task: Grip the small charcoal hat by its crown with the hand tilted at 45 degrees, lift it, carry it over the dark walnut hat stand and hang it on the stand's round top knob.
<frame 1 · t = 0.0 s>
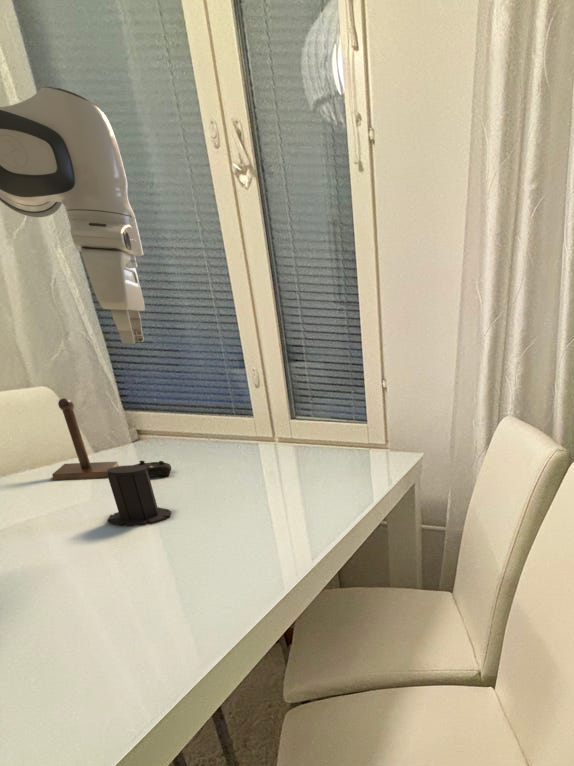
hand: (133, 343, 90), 29 cm above the table, tool pointing down, fingers open, 8 cm apart
hat stand: (88, 474, 129), on the table
hat: (140, 518, 102), on the table
gaming controller: (152, 477, 128), on the table
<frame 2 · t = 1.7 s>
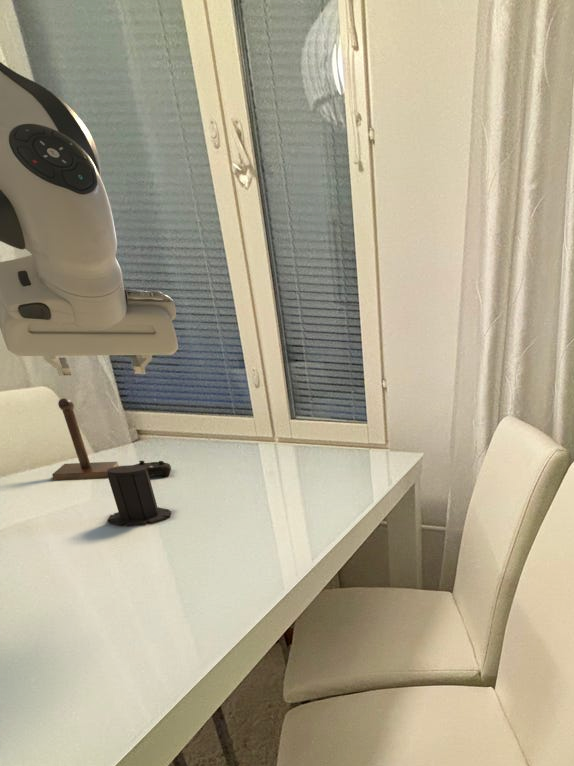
hand: (102, 371, 80), 25 cm above the table, tool tilted 45°, fingers open, 8 cm apart
nothing on the table moved.
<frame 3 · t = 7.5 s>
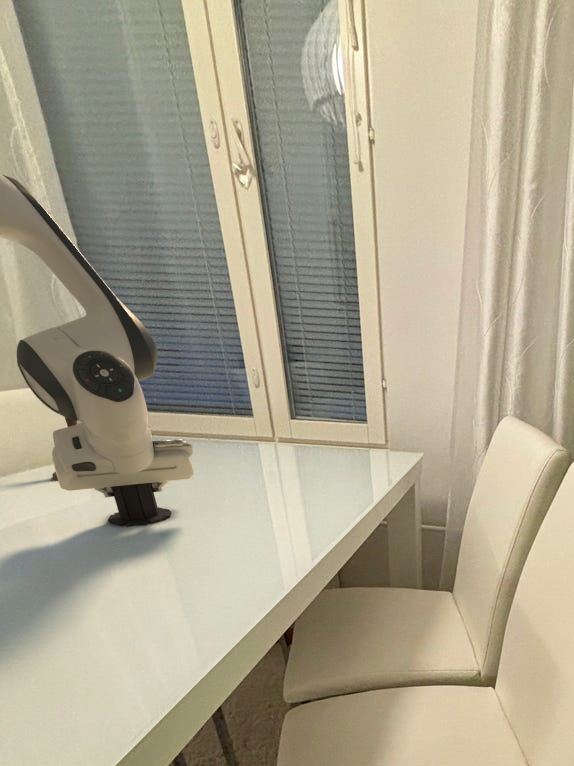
hand: (132, 491, 100), 5 cm above the table, tool tilted 45°, fingers closed on hat, 6 cm apart
hat: (141, 518, 102), on the table, touching gripper
everything else where it was.
when the fingers open (13 cm above the table, at t = 21.1 s): hat stays where it is, resting on hat stand.
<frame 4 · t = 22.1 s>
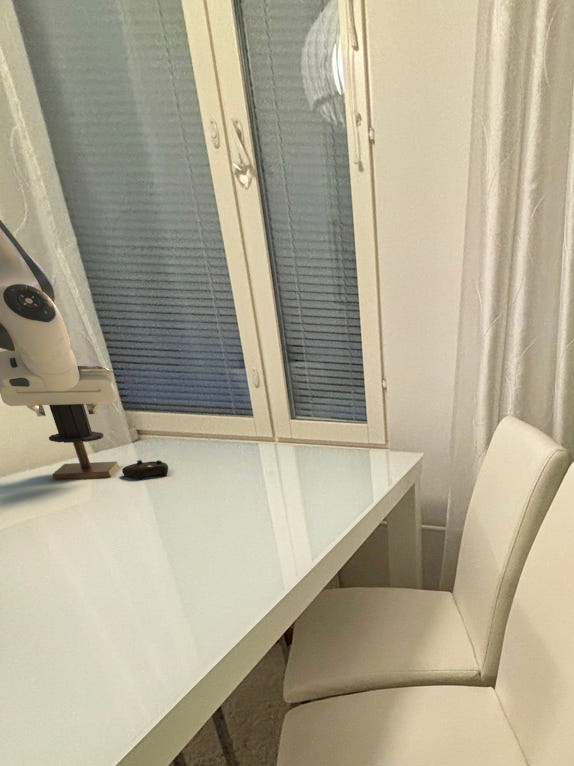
hand: (67, 412, 121), 13 cm above the table, tool tilted 45°, fingers open, 8 cm apart
hat: (77, 438, 125), point 8 cm above the table, touching hat stand
everything else where it was.
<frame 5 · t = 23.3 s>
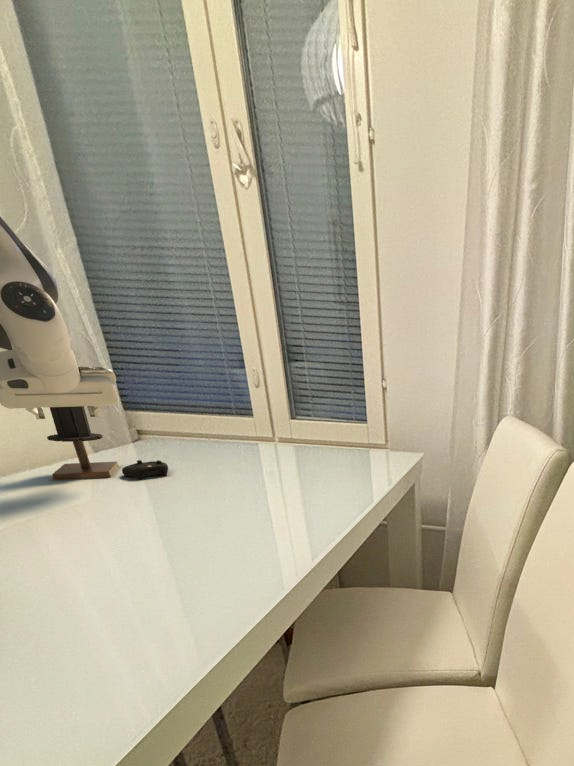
hand: (67, 415, 117), 14 cm above the table, tool tilted 45°, fingers open, 8 cm apart
nothing on the table moved.
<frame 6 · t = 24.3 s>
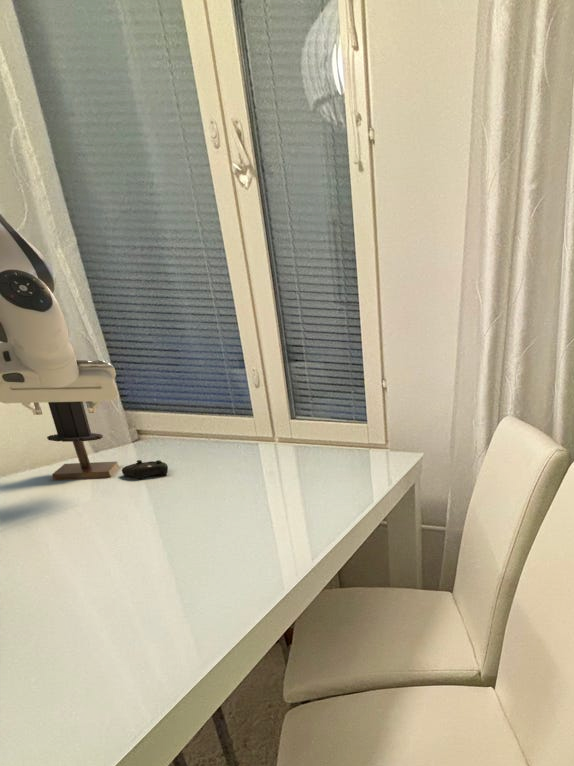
hand: (65, 411, 113), 15 cm above the table, tool tilted 45°, fingers open, 8 cm apart
nothing on the table moved.
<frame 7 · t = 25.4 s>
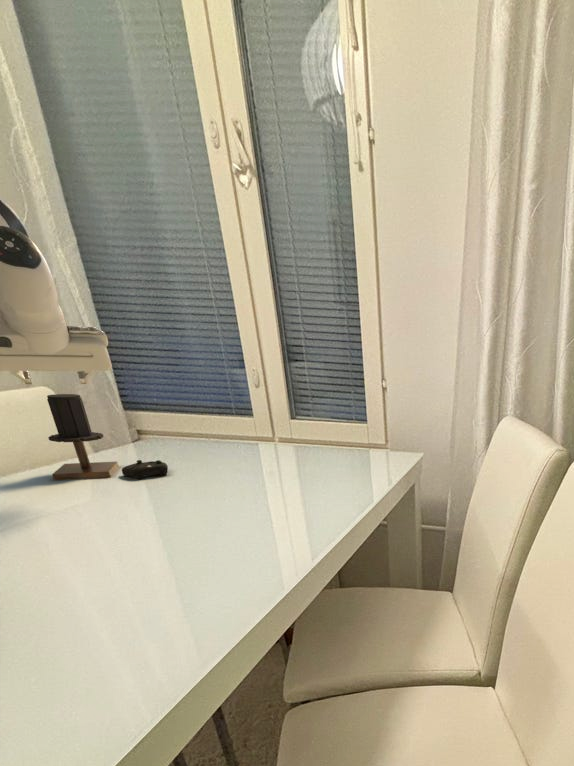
hand: (56, 381, 109), 21 cm above the table, tool tilted 45°, fingers open, 8 cm apart
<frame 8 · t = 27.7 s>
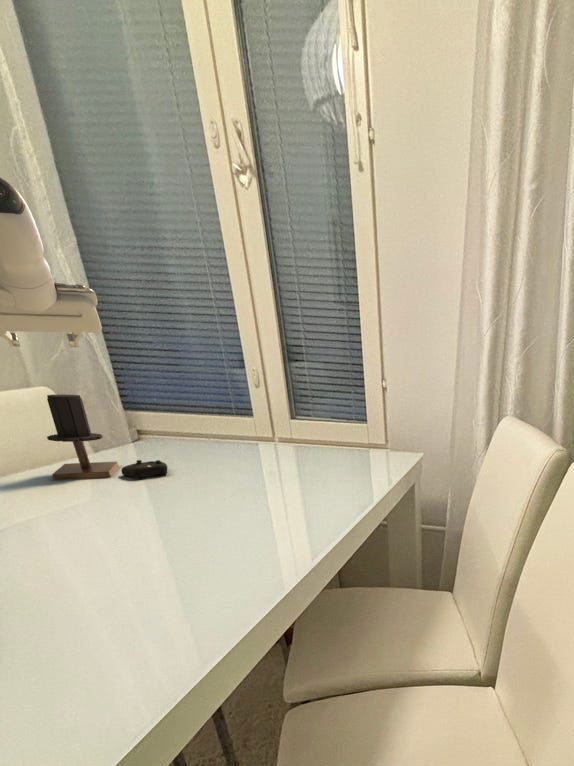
hand: (45, 344, 106), 27 cm above the table, tool tilted 45°, fingers open, 8 cm apart
at the end: hat 0.3 cm off-centre on the hat stand, point 8.0 cm above the hat stand's base; hat touching hat stand; the gripper is holding nothing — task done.
